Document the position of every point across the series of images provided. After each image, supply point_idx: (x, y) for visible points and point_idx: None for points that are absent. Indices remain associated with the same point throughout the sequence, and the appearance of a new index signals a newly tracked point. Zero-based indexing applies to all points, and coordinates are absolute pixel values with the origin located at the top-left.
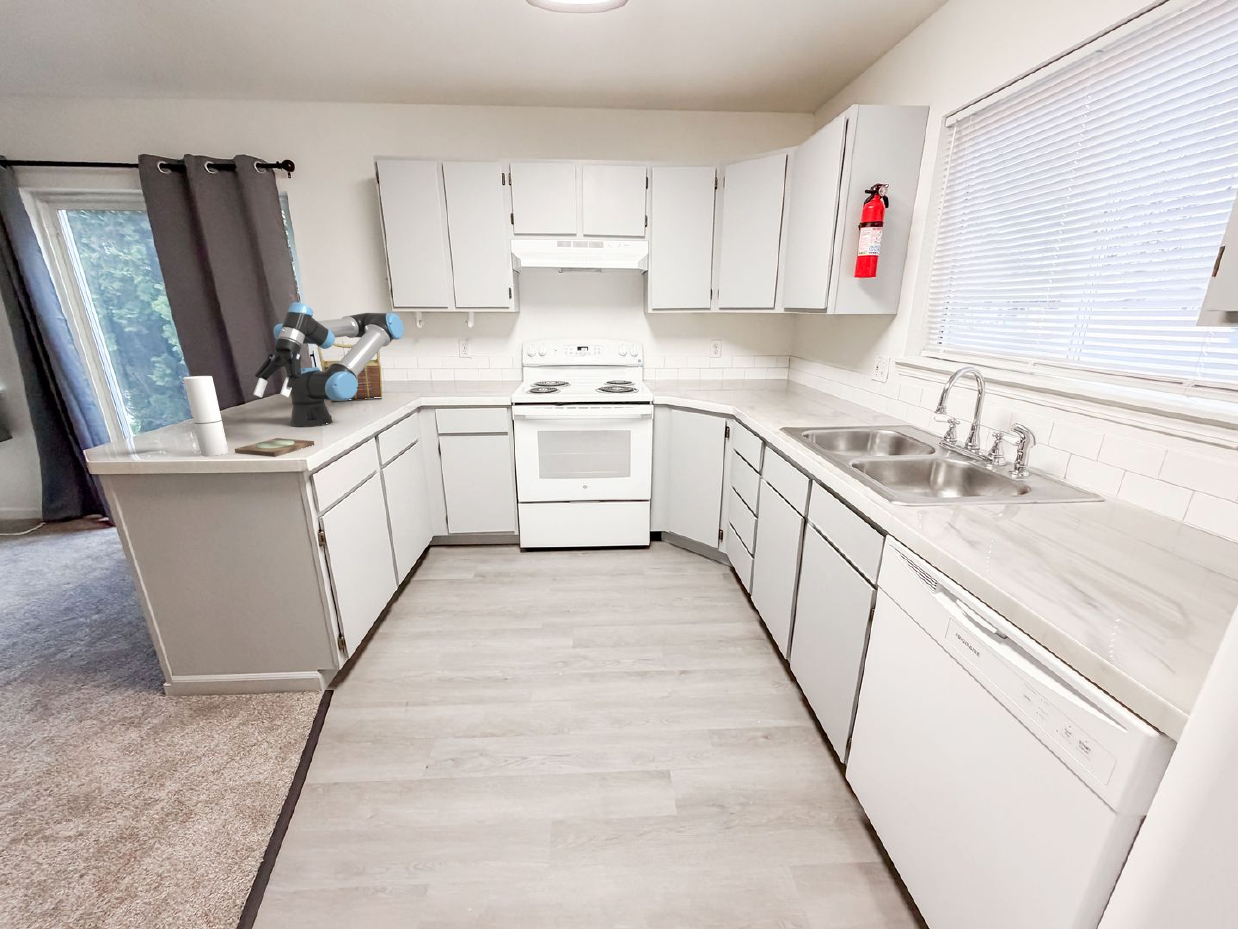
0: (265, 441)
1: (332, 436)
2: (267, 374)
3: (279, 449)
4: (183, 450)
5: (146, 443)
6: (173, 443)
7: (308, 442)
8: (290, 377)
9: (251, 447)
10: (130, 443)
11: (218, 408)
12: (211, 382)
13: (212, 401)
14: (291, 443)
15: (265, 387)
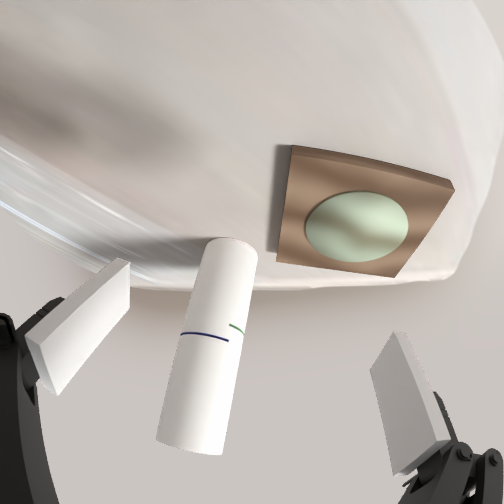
0: (293, 200)
1: (462, 48)
2: (29, 422)
3: (395, 262)
4: (139, 240)
5: (33, 212)
6: (59, 204)
7: (444, 206)
8: (429, 468)
9: (308, 252)
10: (22, 216)
11: (231, 363)
12: (221, 440)
13: (233, 389)
14: (403, 226)
15: (81, 305)
